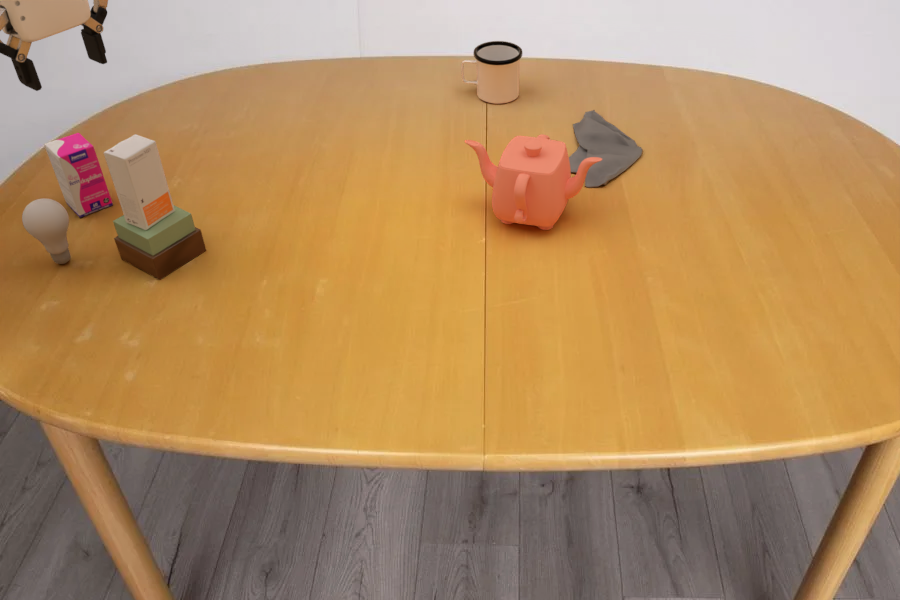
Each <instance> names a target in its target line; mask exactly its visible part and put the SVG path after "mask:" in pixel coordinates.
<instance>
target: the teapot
mask: <svg viewBox="0 0 900 600" xmlns="http://www.w3.org/2000/svg"><path fill="white" fill-rule="evenodd" d="M464 143H465V144H466V145H468V146H469V147H470V148H471V149H472V150H473V151H474V152H475V154H476V156H477V159H478V163H479V169H480V172H481V175H482V178H483V180H484V181H485V182H486V183H487V184H488V185H489V186H490V187H491V188H492V192H491V193H492V194H491V207H492V211H493V214H494V216H495V218H496V219H498V220H500V222H501V223H503V224H505V225H511V224H514V223H515V224H519V225H528V226H533V227H535V226H536V227H537V228H538V229H540V230H542V231H548V230H551V229H553V228H554V225H555V224H556V223H557V222H558V220H559V219H560V218H561V215H562V214H563V213H564V210H565V209H566V206H567V204H568V202H569V199H572V198H574V197H576V196H577V195H578V194H579V193H580V192H581V191H582V189H583V187H584V186H585V178H586V175H587V172H588V169H589V168H590V167H591V166H592V165H593V164H595V163H597V162H599V161H601V160H602V158H599V157H589V158H586V159H584V160H583V161H582V162H581V163H580V165H579V168H578V171H577V173H575V175H574V176H572V172H571V169H570V162H569V157H570V156H569V154H568V153H569V152H568V147H567V144H566V143H565V142H564V141H561V140H555V139H551V138H550V136H549V135H547V134H543V133H542V134H538V135H537V136H536V137H535V136H528V135H516V136H514V137H513V138H512V139H511V140H510V141H509V142H508V143H507V145H506V146H505V148H504V149H503V152H502V154H501V156H500V159H499V161H498V165H496V164H495V163H493V162H492V161H491V158H490V157H489V154H488V151H487V149H486V148H485V146H484V145H483V144H482V143H481V142H479V141H476V140H473V139H465V140H464Z"/></svg>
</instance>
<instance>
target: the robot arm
mask: <svg viewBox="0 0 900 600" xmlns="http://www.w3.org/2000/svg"><path fill="white" fill-rule="evenodd" d="M108 3H109V0H93V1H92V4H93V5H92V6H91V7H90V2H89V1H88V0H0V32H1V31H2V32H3V33H4V34H6V35H8V38H7V41H6V43H4V42H3V40H1V39H0V54H1V55H3V56H6V57H8V58H9V59H10V60H11V62H12V65H13V68H14V70H15V73H16V76H17V78H18V81H19V82H20V83H21V84H22V85H23V86H25V87H27V88H30V89H31V90H33V91H36V92H38V91H40V90H42V89H43V87H42V84H41V81H40V80H41V79H40V78H39V75H38V72H37V69H36V66H35V63H34V61H33V60H32V59H30V58H28V55H29V52H30V49H31V46H32V43H34V42H38V41H40V40H43V39H46V38H50V37H52V36H55V35H57V34H60V33H63V32H65V31H68V30H72V29H74V28H76V27H79V26H82V29H80V36H81V38H82V41H83V44H84V48H85V51H86V54H87V57H88V59H89V60H92V61H94V62H96V63H98V64H101V65H105V64H108V59H107V56H106V53H107V49H106V47H105V43H104V41H103V37H102V33H103V31H104V26H103V25H104V23H105V21H106V18H107V15H108V10H107V8H108Z"/></svg>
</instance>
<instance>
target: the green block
mask: <svg viewBox="0 0 900 600" xmlns="http://www.w3.org/2000/svg"><path fill="white" fill-rule="evenodd" d="M173 205H174V204H173ZM174 209H175V212H173V213H171V214H170V215H168V216H167V217H165V218H164V219H162V220H161V221H159V222H158V223H156V224H155V225H153V226H152V227H150V228H149V229H148V230H144V229H141V228H139V227H136V226H134V225H131V224H129V223H127V222H126V220H125V217H124V214H123V215H121V216H120V217H117V218H116V219H114V220H112V223H113V226H114V229H115V231H116V234H117V236H118V237H119V238H121V239H122V240H124V241H126V242H128V243H130V244H132V245H134V246H136V247H138V248H139V249H141V250H143V251H145V252H147V253H149V254H151V255H153V256H154V255H155V254H157V253H159V252H160V251H162V250H163V249H165V248H167V247H168V246H170V245H172V244H173V243H175V242H177V241H178V240H180V239H181V238H183V237H185V236H186V235H188V234H190V233H191V232H193V231H195V230H196V229H195V227H196V226H195V222H194V219H193V214H192V213H191V212H189V211H187V210H185V209H183V208H181V207H179V206H176V205H174Z"/></svg>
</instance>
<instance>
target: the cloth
mask: <svg viewBox="0 0 900 600" xmlns="http://www.w3.org/2000/svg"><path fill="white" fill-rule="evenodd" d="M572 127H573V131H574V136H575V138H576V141H577V143H578V147H577V149H576V150H575V151H574V152H573V153H571V154H570V155H569V156H568V157H569V162H570V169H571V173H575V174H576V173H577V171H578V168H579V165H580V163H581V162H582V161H583V160H584V159H586V158H589V157H599V158H602V160H601V161H599V162H597V163H595V164H593V165H592V166H591V167H590V168H589V169H588V172H587V175H586V178H585V182H584V187H585V188H598V187H601V186H602V185H604V186H606V185H608V183H609V182H610V181H612V180H613V179H615V178H616V177H618V176H619V175H621V174H622V173H623V172H624V171H626V170H627V169H629V168H630V167H631V166H632V165H634V163H636V162H637V160H638V159H639V158H640V157H641V156H642V154H643V148H642V147H641V146H640V145H638V144H637V142H636V141H635V140H634V139H633V138H631V137H630V136H628V135H627V134H626V133H624V132H623V131H622V130H621V129H620V128H618V127H617V126H616V125H614V124H612V123H610V122H608V121H607V120H606V119H605V118H604V117H603V116H602V115H601V114H599V113H598V112H597V111H595V109H593V110H589V111H585V112H584V114H583V117H582V118H581V120H580V121H578V122H575V123H572Z"/></svg>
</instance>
